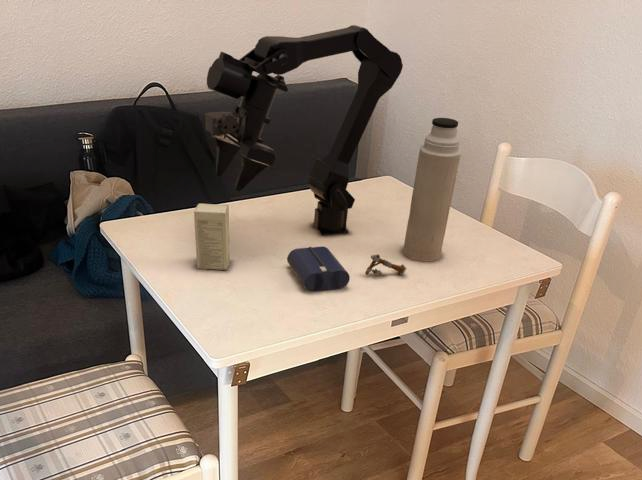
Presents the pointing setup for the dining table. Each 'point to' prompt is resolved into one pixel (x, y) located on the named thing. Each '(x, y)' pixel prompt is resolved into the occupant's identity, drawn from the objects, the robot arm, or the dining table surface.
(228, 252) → the cosmetic box
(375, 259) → the wooden post with brackets
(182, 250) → the dining table surface
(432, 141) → the thermos bottle
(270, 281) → the dining table surface
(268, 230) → the dining table surface
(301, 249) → the pouch
